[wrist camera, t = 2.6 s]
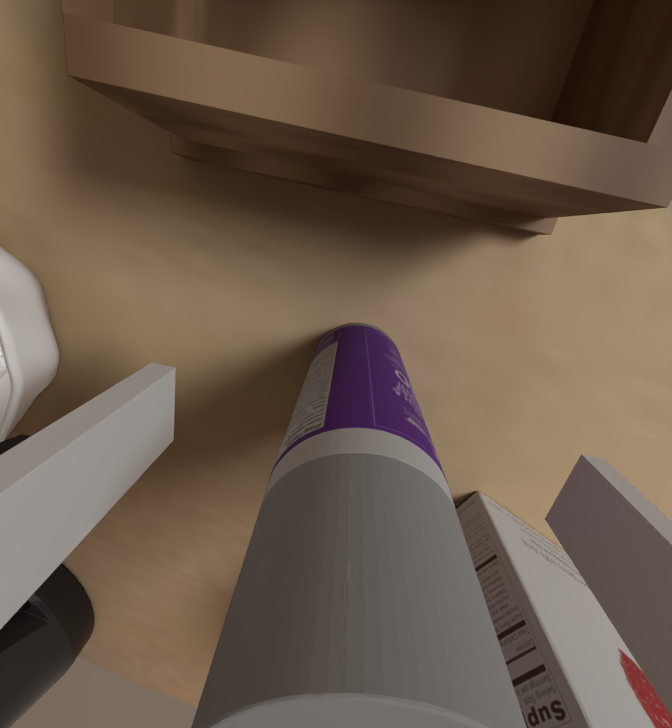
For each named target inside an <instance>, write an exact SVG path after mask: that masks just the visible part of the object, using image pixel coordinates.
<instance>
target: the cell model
mask: <svg viewBox="0 0 672 728" xmlns="http://www.w3.org/2000/svg"><path fill="white" fill-rule="evenodd" d="M58 365H59V351H58V347H57V343H56V340H55V337H54V334H53V331H52V328H51V324H50V318H49V313H48V309H47V305H46V301H45V297H44V294H43V290H42V287H41V285H40V282H39V281H38V279H37V278H36V277H35V275H34V274H33V273H32V272H31V271H30V270H29V269H28V268H27V267H26V266H25V265H24V264H23V263H22V262H20V261H19V260H18V259H16V258H15V257H14V256H12V255H11V254H10V253H8V252H7V251H6V250H4V249H3V248H2V247H0V442H2V441H4V440H5V439H6V437H7V436H8V435H9V434H10V432H11V431H12V430H13V428H14V427H15V426H16V425H17V423H18V422H19V421H20V419H21V418H22V417H23V415H24V414H25V413H26V411H27V410H28V409H29V407H30V406H31V404H32V403H33V401H34V399H35V398H36V397H37V396H38V395H39V394H40V393H41V392H42V391H43V390H44V389H45V388H46V387H47V386H48V385H49V384H50V383H51V382H52V380H53V379H54V377H55V375H56V373H57V370H58Z"/></svg>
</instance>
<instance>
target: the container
mask: <svg viewBox="0 0 672 728" xmlns="http://www.w3.org/2000/svg"><path fill="white" fill-rule="evenodd" d="M191 728H527V727H526V724H525V721H524V718H523V715H522V712H521V709H520V705H519V702H518V699H517V696H516V693H515V690H514V687H513V684H512V681H511V678H510V675H509V672H508V669H507V666H506V663H505V660H504V656H503V653H502V650H501V647H500V644H499V641H498V638H497V635H496V632H495V629H494V626H493V623H492V620H491V617H490V614H489V611H488V608H487V604H486V601H485V598H484V595H483V592H482V589H481V586H480V583H479V580H478V577H477V574H476V571H475V568H474V565H473V562H472V559H471V555H470V552H469V549H468V546H467V543H466V540H465V537H464V534H463V531H462V528H461V525H460V522H459V519H458V516H457V513H456V509H455V506H454V503H453V500H452V497H451V494H450V491H449V488H448V484H447V481H446V478H445V475H444V473H443V470H442V467H441V465H440V462H439V459H438V457H437V454H436V451H435V448H434V446H433V443H432V440H431V438H430V435H429V432H428V430H427V427H426V424H425V421H424V419H423V416H422V413H421V411H420V408H419V405H418V403H417V400H416V397H415V394H414V392H413V389H412V386H411V384H410V381H409V378H408V376H407V373H406V370H405V367H404V365H403V362H402V359H401V357H400V354H399V352H398V349H397V347H396V345H395V344H394V342H393V341H392V339H391V338H390V337H389V336H388V335H387V334H386V333H385V332H383V331H382V330H380V329H378V328H377V327H374V326H372V325H368V324H363V323H351V324H346V325H342V326H339V327H337V328H335V329H333V330H332V331H330V332H329V333H328V334H327V335H325V336H324V337H323V339H322V340H321V341H320V343H319V344H318V346H317V348H316V350H315V353H314V356H313V358H312V361H311V364H310V367H309V370H308V372H307V375H306V378H305V381H304V384H303V386H302V389H301V392H300V395H299V398H298V400H297V403H296V406H295V409H294V411H293V414H292V417H291V420H290V423H289V425H288V428H287V431H286V434H285V437H284V439H283V442H282V445H281V448H280V451H279V453H278V456H277V459H276V462H275V465H274V467H273V470H272V473H271V476H270V479H269V482H268V486H267V489H266V492H265V495H264V499H263V502H262V505H261V508H260V511H259V514H258V518H257V521H256V524H255V527H254V530H253V533H252V537H251V540H250V543H249V546H248V549H247V552H246V556H245V559H244V562H243V565H242V568H241V572H240V575H239V578H238V581H237V584H236V587H235V591H234V594H233V597H232V600H231V603H230V606H229V610H228V613H227V616H226V619H225V622H224V626H223V629H222V632H221V635H220V638H219V641H218V645H217V648H216V651H215V654H214V657H213V661H212V664H211V667H210V670H209V673H208V676H207V680H206V683H205V686H204V689H203V692H202V695H201V699H200V702H199V705H198V708H197V711H196V715H195V718H194V721H193V724H192V727H191Z"/></svg>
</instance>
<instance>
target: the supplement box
mask: <svg viewBox="0 0 672 728" xmlns="http://www.w3.org/2000/svg"><path fill="white" fill-rule="evenodd" d="M456 513H457V516H458V519H459V522H460V525H461V528H462V531H463V534H464V537H465V540H466V543H467V546H468V549H469V552H470V555H471V559H472V562H473V565H474V568H475V571H476V574H477V577H478V580H479V583H480V586H481V589H482V592H483V595H484V598H485V601H486V604H487V608H488V611H489V614H490V617H491V620H492V623H493V626H494V629H495V632H496V635H497V638H498V641H499V644H500V647H501V650H502V653H503V656H504V660H505V663H506V666H507V669H508V672H509V675H510V678H511V681H512V684H513V687H514V690H515V693H516V696H517V699H518V702H519V705H520V709H521V712H522V715H523V718H524V721H525V724H526V727H527V728H672V717H671V715H670V713H669V712H668V710H667V709H666V707H665V706H664V704H663V703H662V701H661V699H660V698H659V696H658V695H657V693H656V692H655V690H654V688H653V687H652V685H651V684H650V682H649V681H648V679H647V678H646V676H645V674H644V673H643V671H642V670H641V668H640V667H639V665H638V663H637V662H636V660H635V659H634V657H633V656H632V654H631V653H630V651H629V649H628V648H627V646H626V645H625V643H624V642H623V640H622V638H621V637H620V635H619V634H618V632H617V631H616V629H615V628H614V626H613V624H612V623H611V621H610V620H609V618H608V617H607V615H606V614H605V612H604V610H603V609H602V607H601V606H600V604H599V603H598V601H597V599H596V598H595V596H594V595H593V593H592V592H591V590H590V589H589V587H588V585H587V584H586V582H585V581H584V579H583V578H582V576H581V574H580V573H579V571H578V570H577V568H576V567H575V565H574V564H573V562H572V560H571V559H570V557H569V556H568V554H567V553H566V552H564V551H563V550H561V549H560V548H559V547H557V546H556V545H554V544H553V543H551V542H550V541H549V540H547V539H546V538H545V537H543V536H542V535H540V534H539V533H538V532H536V531H535V530H533V529H532V528H530V527H529V526H528V525H526V524H525V523H523V522H522V521H521V520H519V519H518V518H516V517H515V516H514V515H512V514H511V513H509V512H508V511H506V510H505V509H504V508H502V507H501V506H499V505H498V504H497V503H495V502H494V501H492V500H491V499H489V498H488V497H486V496H485V495H484V494H482V493H480V492H476V493H475V494H473V495H472V496H471V497H470V498H469V499H468V500H466V501H465V502H464V503H463V504H462V505H461V506H459V507H458V508H457V509H456Z"/></svg>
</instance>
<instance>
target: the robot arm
mask: <svg viewBox="0 0 672 728" xmlns="http://www.w3.org/2000/svg"><path fill="white" fill-rule="evenodd" d="M175 371H176V368H175V367H170V366H166V365H161V364H156V363H150V364H149V365H147V366H145V367H144V368H142V369H140V370H139V371H137V372H135V373H134V374H132V375H131V376H129V377H127V378H126V379H124V380H122V381H121V382H119V383H117V384H116V385H114V386H113V387H111V388H109V389H108V390H106V391H104V392H103V393H101V394H100V395H98V396H96V397H95V398H93V399H91V400H90V401H88V402H86V403H85V404H83V405H82V406H80V407H78V408H77V409H75V410H73V411H72V412H70V413H68V414H67V415H65V416H64V417H62V418H60V419H59V420H57V421H55V422H54V423H52V424H50V425H49V426H47V427H46V428H44V429H42V430H41V431H39V432H37V433H36V434H34V435H32V436H27V435H19V436H17V437H14V438H11V439H8V440H5V441H2V442H0V728H10V727H11V726H12V725H13V724H14V723H15V722H16V721H17V720H18V719H19V718H20V717H21V716H22V715H23V714H24V713H25V712H26V711H27V710H28V709H29V708H30V707H31V706H32V705H33V704H34V703H35V702H37V700H39V698H41V697H42V696H43V695H44V694H45V693H46V692H47V691H48V690H49V689H50V688H51V687H52V686H53V685H54V684H55V683H56V682H57V681H58V680H59V679H60V678H61V677H62V676H63V675H64V674H65V673H66V671H67V670H68V669H69V668H70V666H71V665H72V664H73V662H74V661H75V659H76V658H77V656H78V655H79V653H80V652H81V650H82V649H83V647H84V646H85V644H86V643H87V641H88V640H89V638H90V636H91V634H92V632H93V628H94V612H93V608H92V605H91V602H90V600H89V598H88V596H87V594H86V593H85V591H84V590H83V588H82V587H81V585H80V584H79V583H78V581H77V580H76V579H75V578H74V577H73V576H72V575H71V574H70V573H69V572H68V571H67V570H66V569H65V568H64V567H63V566H62V565H61V563H62V562H63V561H64V559H65V558H66V557H67V556H68V555H69V554H70V553H71V552H72V551H73V550H74V549H75V547H76V546H77V545H78V544H79V543H80V542H81V541H82V540H83V539H84V538H85V537H86V535H87V534H88V533H89V532H90V531H91V530H92V529H93V528H94V527H95V526H96V524H97V523H98V522H99V521H100V520H101V519H102V518H103V517H104V516H105V515H106V514H107V512H108V511H109V510H110V509H111V508H112V507H113V506H114V505H115V504H116V503H117V502H118V500H119V499H120V498H121V497H122V496H123V495H124V494H125V493H126V492H127V491H128V490H129V488H130V487H131V486H132V485H133V484H134V483H135V482H136V481H137V480H138V479H139V477H140V476H141V475H142V474H143V473H144V472H145V471H146V470H147V469H148V468H149V467H150V465H151V464H152V463H153V462H154V461H155V460H156V459H157V458H158V457H159V456H160V455H161V453H162V452H163V451H164V450H165V449H166V448H167V447H168V446H169V445H170V444H171V443H172V441H173V440H174V409H175ZM545 520H546V521H547V523H548V524H549V526H550V528H551V529H552V531H553V532H554V534H555V535H556V537H557V539H558V540H559V542H560V543H561V545H562V546H563V548H564V549H565V551H566V553H567V554H568V556H569V557H570V559H571V560H572V562H573V564H574V565H575V567H576V568H577V570H578V571H579V573H580V574H581V576H582V578H583V579H584V581H585V582H586V584H587V585H588V587H589V589H590V590H591V592H592V593H593V595H594V596H595V598H596V599H597V601H598V603H599V604H600V606H601V607H602V609H603V610H604V612H605V614H606V615H607V617H608V618H609V620H610V621H611V623H612V624H613V626H614V628H615V629H616V631H617V632H618V634H619V635H620V637H621V638H622V640H623V642H624V643H625V645H626V646H627V648H628V649H629V651H630V653H631V654H632V656H633V657H634V659H635V660H636V662H637V663H638V665H639V667H640V668H641V670H642V671H643V673H644V674H645V676H646V678H647V679H648V681H649V682H650V684H651V685H652V687H653V688H654V690H655V692H656V693H657V695H658V696H659V698H660V699H661V701H662V703H663V704H664V706H665V707H666V709H667V710H668V712H669V713H670V715H671V717H672V521H671V520H670V519H669V518H668V517H667V516H666V515H665V514H664V513H663V512H661V511H660V510H659V509H658V508H657V507H656V506H655V505H654V504H653V503H652V502H651V501H650V500H649V499H647V498H646V497H645V496H644V495H643V494H642V493H641V492H640V491H639V490H638V489H637V488H636V487H635V486H633V485H632V484H631V483H630V482H629V481H628V480H627V479H626V478H625V477H624V476H623V475H622V474H621V473H619V472H618V471H617V470H616V469H615V468H614V467H613V466H612V465H611V464H610V463H609V462H608V461H607V460H605V459H602V458H597V457H592V456H588V455H583V454H581V456H580V458H579V460H578V461H577V463H576V465H575V467H574V468H573V470H572V472H571V474H570V475H569V477H568V479H567V481H566V482H565V484H564V486H563V488H562V490H561V491H560V493H559V495H558V497H557V498H556V500H555V502H554V504H553V505H552V507H551V509H550V511H549V513H548V514H547V516H546V518H545Z"/></svg>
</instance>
